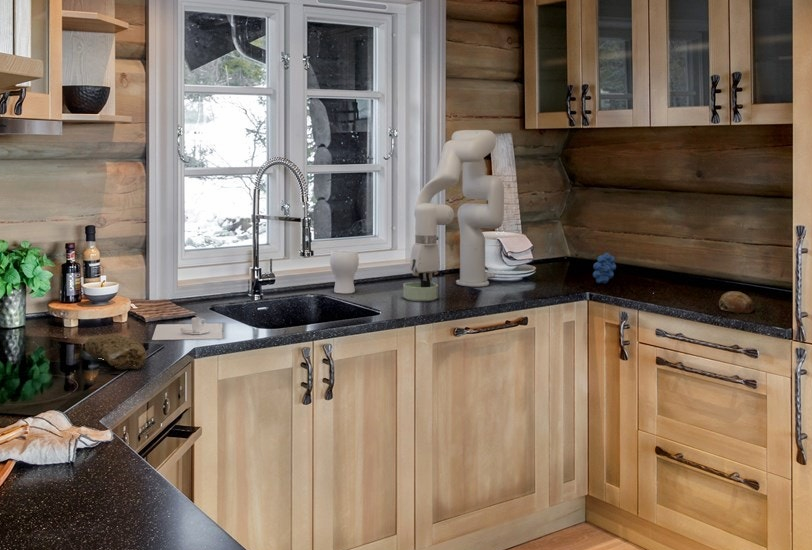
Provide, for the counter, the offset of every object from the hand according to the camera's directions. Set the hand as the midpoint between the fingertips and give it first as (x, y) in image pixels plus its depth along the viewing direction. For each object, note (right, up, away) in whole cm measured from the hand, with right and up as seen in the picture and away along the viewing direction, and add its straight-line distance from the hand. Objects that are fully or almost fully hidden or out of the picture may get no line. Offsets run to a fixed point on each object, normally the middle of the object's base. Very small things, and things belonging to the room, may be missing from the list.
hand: (425, 291), depth 300 cm
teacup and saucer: (-79, -4, -51) cm, 94 cm away
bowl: (-2, -2, -2) cm, 4 cm away
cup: (-28, -2, +12) cm, 30 cm away
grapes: (+74, -1, +28) cm, 79 cm away
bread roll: (+98, -3, -24) cm, 101 cm away
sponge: (-94, -5, -86) cm, 127 cm away
